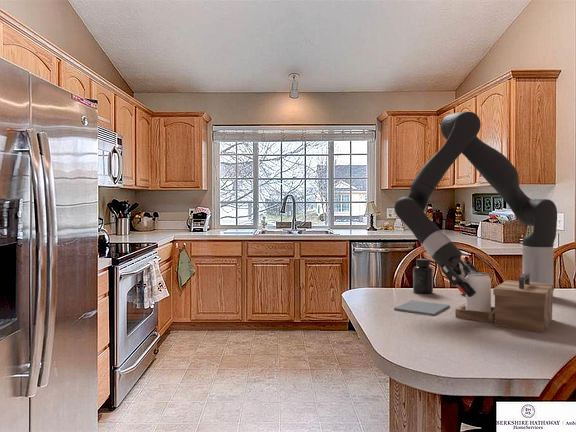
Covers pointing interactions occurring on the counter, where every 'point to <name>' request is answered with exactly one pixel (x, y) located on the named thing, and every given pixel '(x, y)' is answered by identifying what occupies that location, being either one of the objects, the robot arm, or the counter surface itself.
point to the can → (479, 292)
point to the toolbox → (517, 306)
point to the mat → (422, 307)
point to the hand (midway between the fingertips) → (479, 293)
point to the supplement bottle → (423, 277)
